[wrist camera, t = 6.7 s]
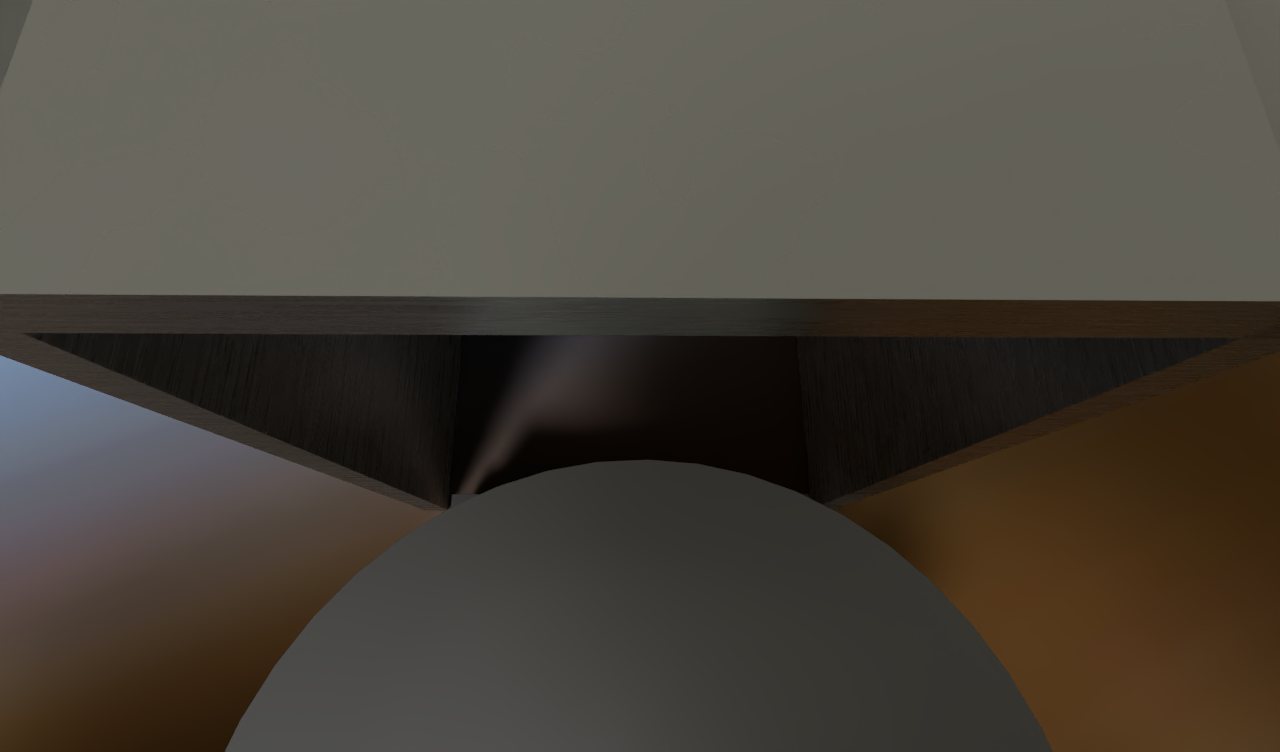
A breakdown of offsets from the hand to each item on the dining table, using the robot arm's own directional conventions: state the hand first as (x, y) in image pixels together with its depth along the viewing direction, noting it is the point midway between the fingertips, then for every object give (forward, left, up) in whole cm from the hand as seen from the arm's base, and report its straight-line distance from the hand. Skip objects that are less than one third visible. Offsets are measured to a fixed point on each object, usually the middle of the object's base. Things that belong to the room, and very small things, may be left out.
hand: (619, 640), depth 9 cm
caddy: (+7, 0, -9) cm, 12 cm away
